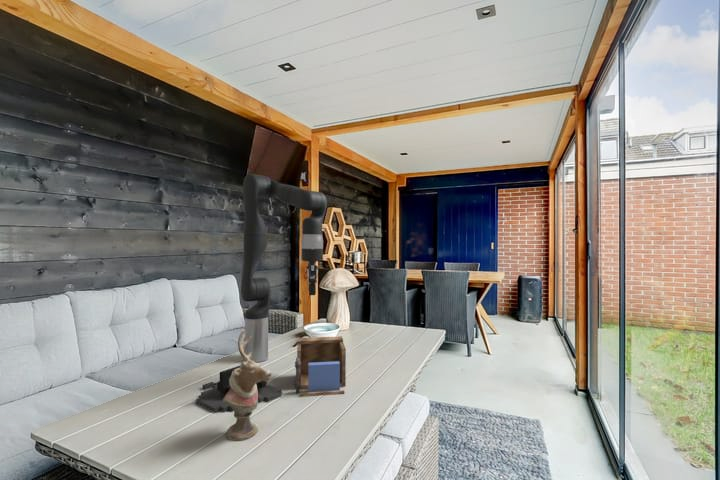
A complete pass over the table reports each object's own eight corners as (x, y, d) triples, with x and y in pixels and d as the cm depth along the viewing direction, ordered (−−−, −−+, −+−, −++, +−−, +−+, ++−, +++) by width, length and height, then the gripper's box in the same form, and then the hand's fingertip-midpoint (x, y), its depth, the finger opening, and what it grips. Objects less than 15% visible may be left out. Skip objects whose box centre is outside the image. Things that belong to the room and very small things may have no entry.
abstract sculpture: (182, 367, 110) (238, 352, 126) (182, 397, 110) (237, 377, 126) (228, 387, 95) (285, 367, 112) (228, 421, 95) (285, 396, 111)
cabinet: (294, 396, 110) (294, 353, 110) (295, 375, 127) (296, 338, 127) (347, 393, 112) (347, 351, 112) (341, 373, 130) (341, 336, 130)
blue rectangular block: (308, 393, 112) (308, 365, 112) (308, 390, 115) (308, 362, 115) (339, 391, 114) (339, 363, 114) (339, 388, 116) (339, 361, 116)
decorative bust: (279, 436, 85) (265, 332, 87) (224, 450, 82) (210, 342, 84) (279, 418, 96) (267, 326, 97) (230, 430, 93) (218, 335, 94)
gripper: (301, 247, 131) (301, 290, 131) (301, 247, 117) (301, 296, 117) (321, 247, 132) (321, 290, 132) (324, 247, 118) (323, 296, 118)
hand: (312, 293), depth 125 cm, fingers open, 8 cm apart
